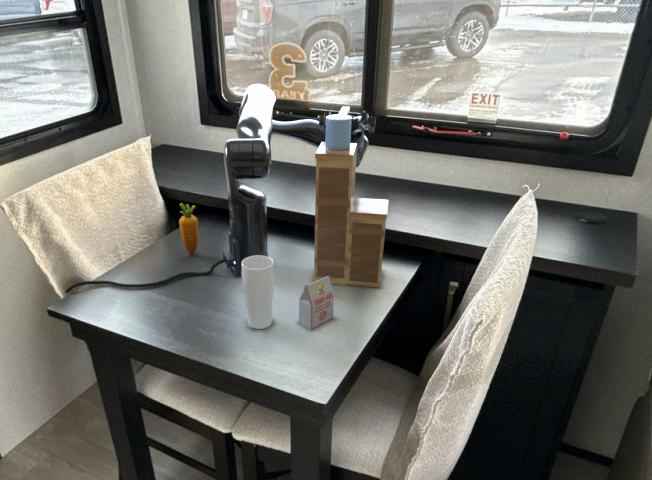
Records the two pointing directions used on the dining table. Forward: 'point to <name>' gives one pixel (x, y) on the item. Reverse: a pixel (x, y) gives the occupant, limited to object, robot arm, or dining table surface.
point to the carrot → (189, 229)
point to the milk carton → (316, 303)
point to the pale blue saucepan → (338, 130)
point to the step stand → (346, 223)
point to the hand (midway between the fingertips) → (345, 114)
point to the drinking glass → (258, 290)
